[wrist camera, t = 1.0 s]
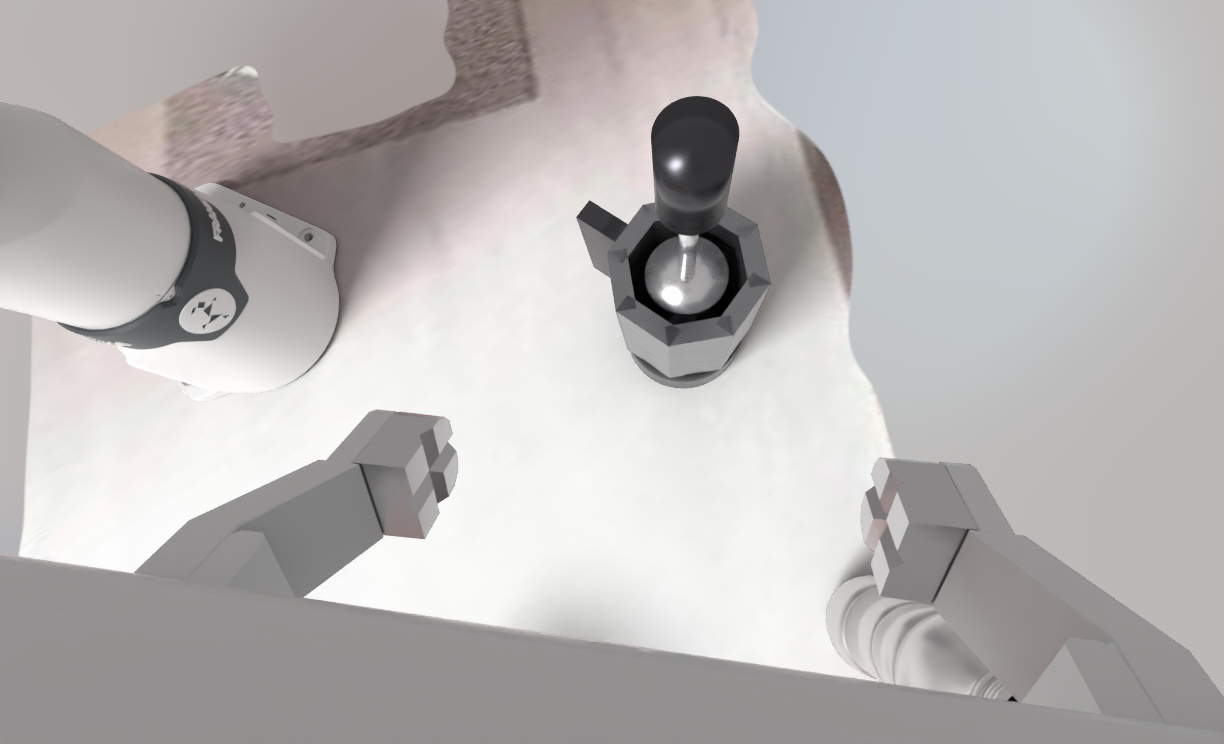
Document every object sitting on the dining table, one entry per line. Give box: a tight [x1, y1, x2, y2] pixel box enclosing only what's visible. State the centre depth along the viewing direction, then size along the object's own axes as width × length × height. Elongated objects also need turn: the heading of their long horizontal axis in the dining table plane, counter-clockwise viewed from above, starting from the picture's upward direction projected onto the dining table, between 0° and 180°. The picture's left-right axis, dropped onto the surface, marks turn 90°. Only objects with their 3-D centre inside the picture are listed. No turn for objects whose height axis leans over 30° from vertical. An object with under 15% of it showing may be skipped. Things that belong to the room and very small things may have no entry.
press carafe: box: [576, 200, 771, 388], centre depth 40 cm, size 12×9×14 cm
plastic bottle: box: [826, 575, 1018, 702], centre depth 31 cm, size 6×7×20 cm
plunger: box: [645, 96, 739, 316], centre depth 27 cm, size 5×5×14 cm
